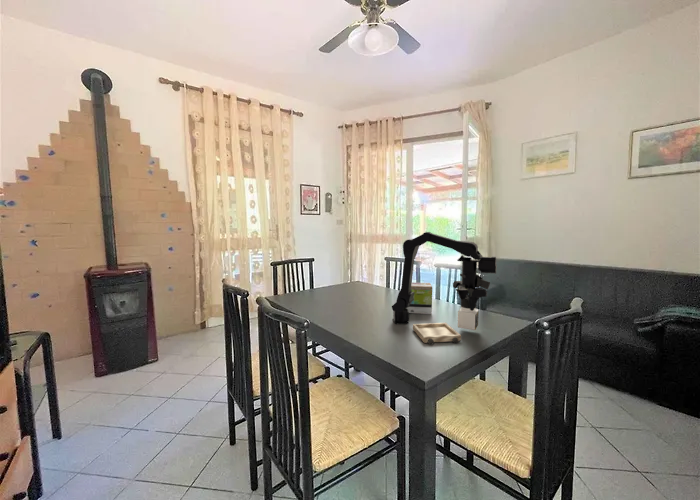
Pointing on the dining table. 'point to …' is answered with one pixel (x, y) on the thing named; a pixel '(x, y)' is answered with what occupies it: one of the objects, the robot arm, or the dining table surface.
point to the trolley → (436, 333)
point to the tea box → (421, 298)
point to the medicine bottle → (467, 316)
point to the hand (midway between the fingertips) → (468, 308)
